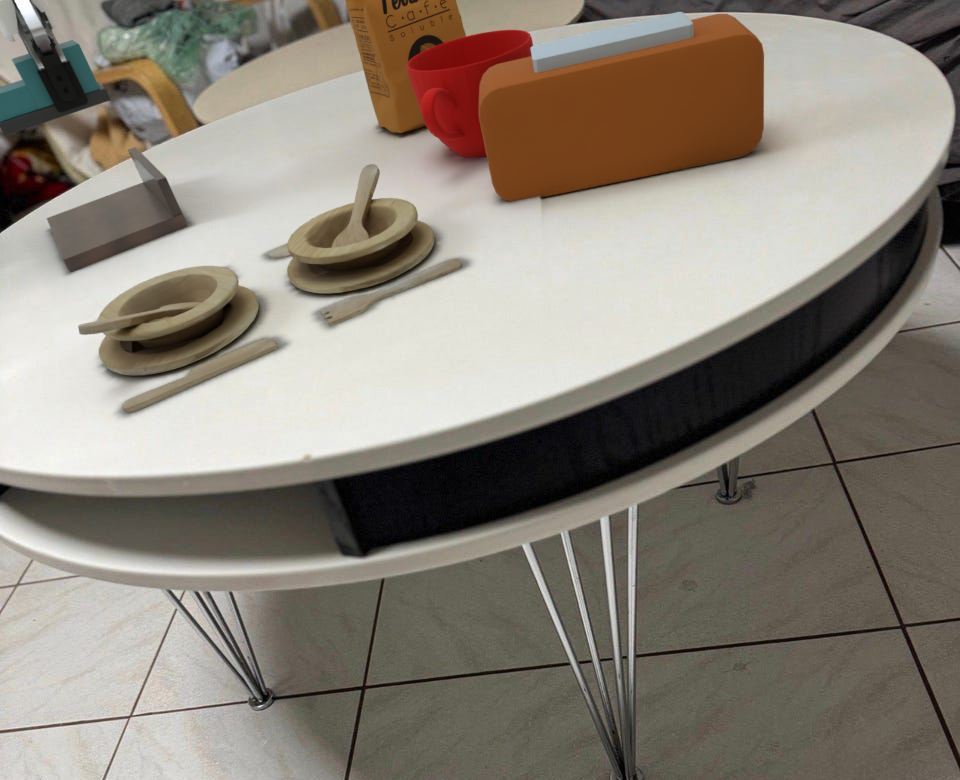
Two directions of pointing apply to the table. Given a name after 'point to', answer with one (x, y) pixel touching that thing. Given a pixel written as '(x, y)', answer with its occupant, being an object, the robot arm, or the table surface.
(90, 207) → the brown l-shaped piece
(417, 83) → the ceramic cup
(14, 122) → the teal l-shaped block
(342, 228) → the tableware set
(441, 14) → the coffee package
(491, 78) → the alarm clock
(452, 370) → the table surface
